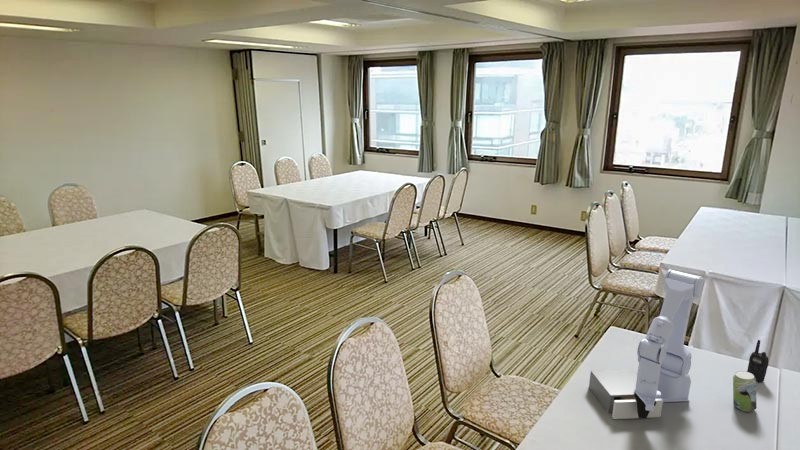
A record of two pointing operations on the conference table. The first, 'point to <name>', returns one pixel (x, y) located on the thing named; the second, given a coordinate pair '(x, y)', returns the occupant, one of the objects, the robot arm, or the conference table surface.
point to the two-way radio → (758, 364)
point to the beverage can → (744, 391)
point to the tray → (633, 409)
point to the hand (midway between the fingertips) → (641, 417)
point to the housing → (612, 385)
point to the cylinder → (626, 398)
